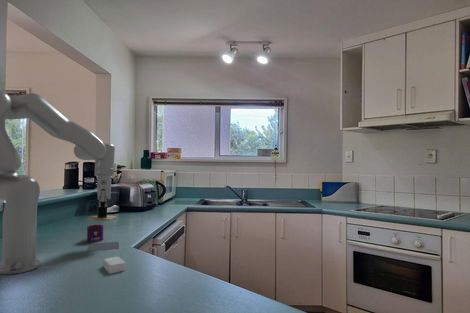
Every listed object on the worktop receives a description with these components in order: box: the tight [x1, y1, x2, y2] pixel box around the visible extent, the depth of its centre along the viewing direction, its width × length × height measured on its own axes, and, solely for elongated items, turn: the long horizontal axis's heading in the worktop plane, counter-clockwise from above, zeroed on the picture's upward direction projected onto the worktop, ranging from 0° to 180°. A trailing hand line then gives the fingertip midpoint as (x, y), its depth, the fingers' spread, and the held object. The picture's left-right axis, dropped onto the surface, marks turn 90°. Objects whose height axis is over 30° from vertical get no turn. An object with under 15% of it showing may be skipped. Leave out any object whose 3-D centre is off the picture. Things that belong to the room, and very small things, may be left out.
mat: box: [86, 241, 120, 253], centre depth 132 cm, size 12×12×1 cm
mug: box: [86, 224, 104, 243], centre depth 144 cm, size 7×10×7 cm
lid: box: [87, 204, 117, 222], centre depth 132 cm, size 11×11×6 cm
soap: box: [102, 256, 127, 274], centre depth 107 cm, size 9×6×3 cm, turn 36°
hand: (102, 215), depth 132 cm, fingers closed on lid, 3 cm apart
